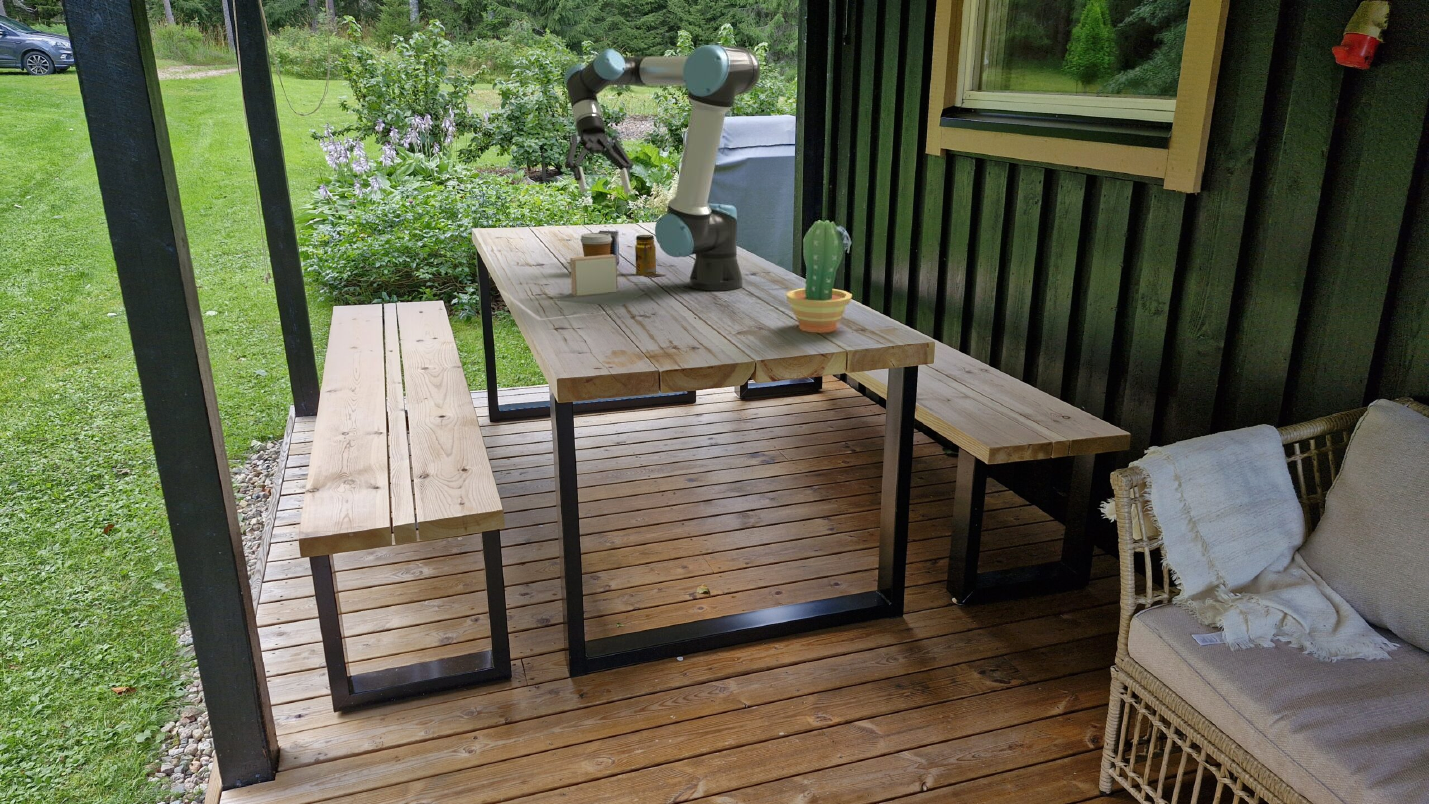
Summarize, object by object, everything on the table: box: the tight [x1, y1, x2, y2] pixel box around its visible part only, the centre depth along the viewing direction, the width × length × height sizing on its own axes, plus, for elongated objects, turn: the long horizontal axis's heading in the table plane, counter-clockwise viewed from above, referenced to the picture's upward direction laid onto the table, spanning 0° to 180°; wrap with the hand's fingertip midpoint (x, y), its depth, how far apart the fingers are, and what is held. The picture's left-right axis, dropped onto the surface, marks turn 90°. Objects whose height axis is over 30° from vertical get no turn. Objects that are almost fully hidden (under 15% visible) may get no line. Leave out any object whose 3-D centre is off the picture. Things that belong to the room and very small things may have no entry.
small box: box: [597, 230, 620, 266], centre depth 290 cm, size 11×6×10 cm, turn 179°
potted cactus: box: [785, 219, 853, 334], centre depth 214 cm, size 15×15×25 cm
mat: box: [554, 289, 647, 307], centre depth 247 cm, size 19×17×1 cm
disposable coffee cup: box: [579, 232, 612, 257], centre depth 276 cm, size 10×10×12 cm
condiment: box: [633, 234, 666, 279], centre depth 276 cm, size 7×8×12 cm
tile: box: [569, 254, 619, 297], centre depth 249 cm, size 3×12×10 cm, turn 117°
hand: (606, 191), depth 252 cm, fingers open, 13 cm apart
